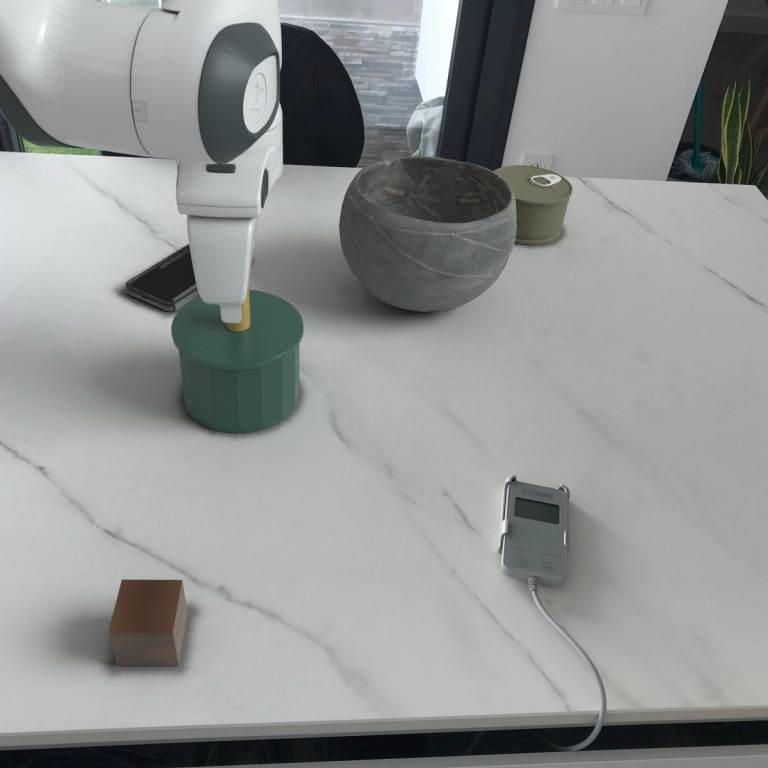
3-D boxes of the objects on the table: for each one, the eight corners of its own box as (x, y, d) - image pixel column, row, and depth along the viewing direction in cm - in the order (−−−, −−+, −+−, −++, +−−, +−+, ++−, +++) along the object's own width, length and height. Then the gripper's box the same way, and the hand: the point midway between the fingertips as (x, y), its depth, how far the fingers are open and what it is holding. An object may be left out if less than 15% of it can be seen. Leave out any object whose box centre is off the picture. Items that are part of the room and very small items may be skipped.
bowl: (528, 289, 102) (552, 183, 93) (446, 365, 88) (465, 250, 79) (396, 236, 111) (406, 134, 101) (303, 298, 97) (304, 187, 87)
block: (117, 666, 58) (108, 632, 55) (129, 613, 61) (121, 579, 58) (178, 665, 58) (172, 632, 55) (187, 613, 61) (182, 579, 59)
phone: (249, 253, 101) (171, 305, 91) (249, 261, 102) (172, 313, 92) (202, 235, 104) (120, 284, 94) (202, 242, 105) (122, 291, 94)
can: (465, 216, 117) (472, 173, 112) (525, 200, 122) (534, 159, 118) (517, 253, 109) (527, 208, 105) (578, 234, 115) (590, 192, 111)
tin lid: (289, 383, 72) (289, 338, 68) (153, 365, 72) (147, 320, 69) (313, 306, 82) (314, 264, 78) (194, 291, 82) (190, 248, 79)
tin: (285, 440, 77) (285, 374, 72) (169, 424, 78) (160, 358, 72) (307, 367, 86) (308, 304, 81) (203, 354, 87) (197, 290, 81)
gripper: (207, 101, 72) (216, 233, 81) (171, 205, 57) (188, 353, 66) (275, 105, 73) (277, 235, 82) (258, 209, 57) (263, 356, 66)
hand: (237, 289), depth 74 cm, fingers open, 8 cm apart
